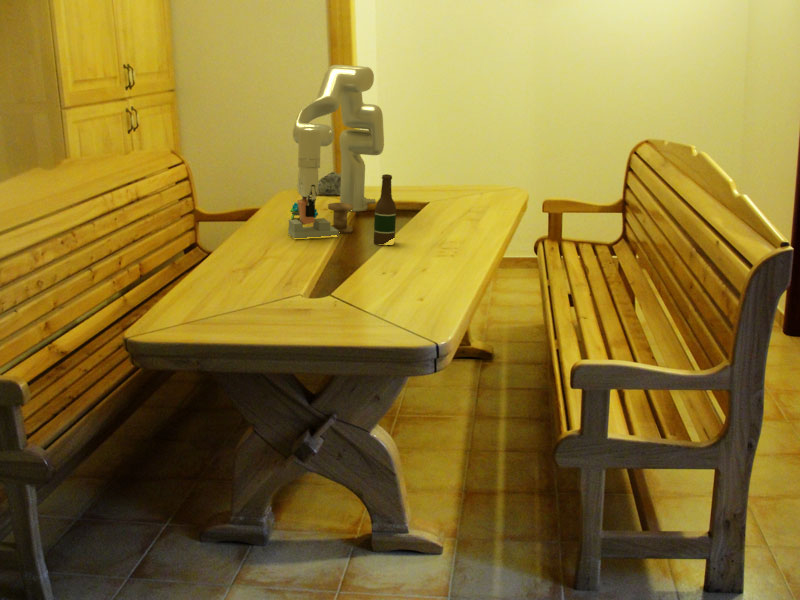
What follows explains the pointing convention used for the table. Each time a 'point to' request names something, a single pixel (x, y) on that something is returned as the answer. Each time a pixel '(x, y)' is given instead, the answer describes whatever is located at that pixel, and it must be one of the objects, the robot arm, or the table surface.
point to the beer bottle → (385, 213)
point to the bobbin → (341, 216)
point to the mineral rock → (330, 184)
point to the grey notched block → (311, 229)
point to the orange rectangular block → (304, 212)
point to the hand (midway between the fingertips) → (308, 214)
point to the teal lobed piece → (296, 211)
